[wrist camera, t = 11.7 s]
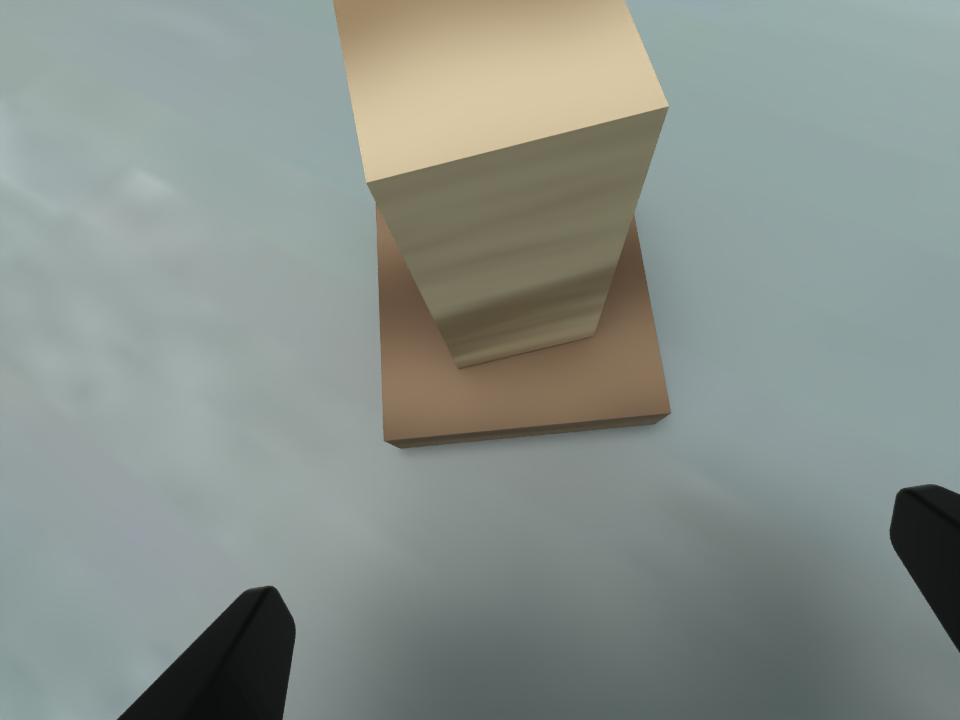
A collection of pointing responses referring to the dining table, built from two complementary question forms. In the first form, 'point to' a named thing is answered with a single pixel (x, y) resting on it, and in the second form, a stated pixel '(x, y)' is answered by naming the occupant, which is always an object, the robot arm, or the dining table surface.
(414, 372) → the walnut slab
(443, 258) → the maple block
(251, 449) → the dining table surface
